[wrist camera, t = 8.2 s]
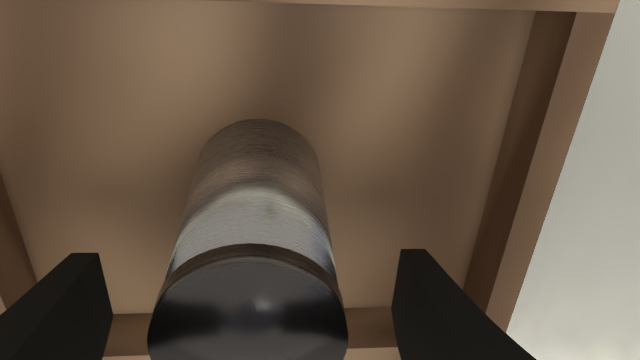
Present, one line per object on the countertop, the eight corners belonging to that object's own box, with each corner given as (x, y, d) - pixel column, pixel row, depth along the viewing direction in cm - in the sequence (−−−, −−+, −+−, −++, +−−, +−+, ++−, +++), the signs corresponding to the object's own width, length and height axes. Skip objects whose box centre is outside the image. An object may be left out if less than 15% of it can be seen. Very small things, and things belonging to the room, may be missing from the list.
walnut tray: (575, -44, 14) (629, -31, 12) (473, 312, 21) (495, 361, 19) (-111, -72, 12) (-193, -63, 10) (33, 325, 19) (3, 379, 17)
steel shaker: (344, 185, 17) (384, 355, 11) (249, 244, 18) (235, 429, 12) (271, 92, 15) (268, 234, 9) (168, 163, 16) (102, 336, 10)
